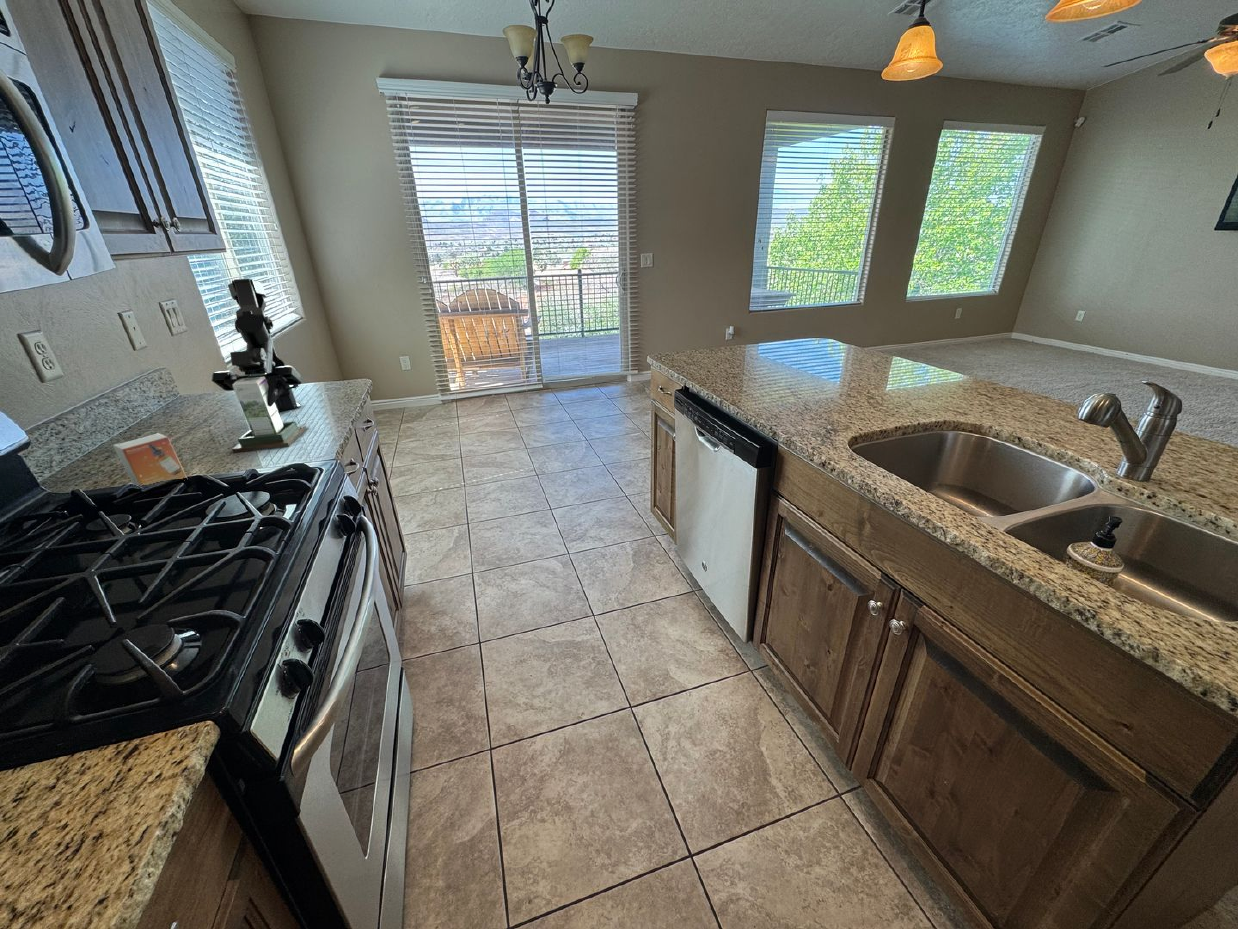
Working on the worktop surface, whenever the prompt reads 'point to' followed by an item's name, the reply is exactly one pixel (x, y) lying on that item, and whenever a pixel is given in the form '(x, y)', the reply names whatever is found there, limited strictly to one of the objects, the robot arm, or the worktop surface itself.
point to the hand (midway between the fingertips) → (256, 407)
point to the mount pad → (270, 439)
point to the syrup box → (257, 406)
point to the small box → (150, 460)
